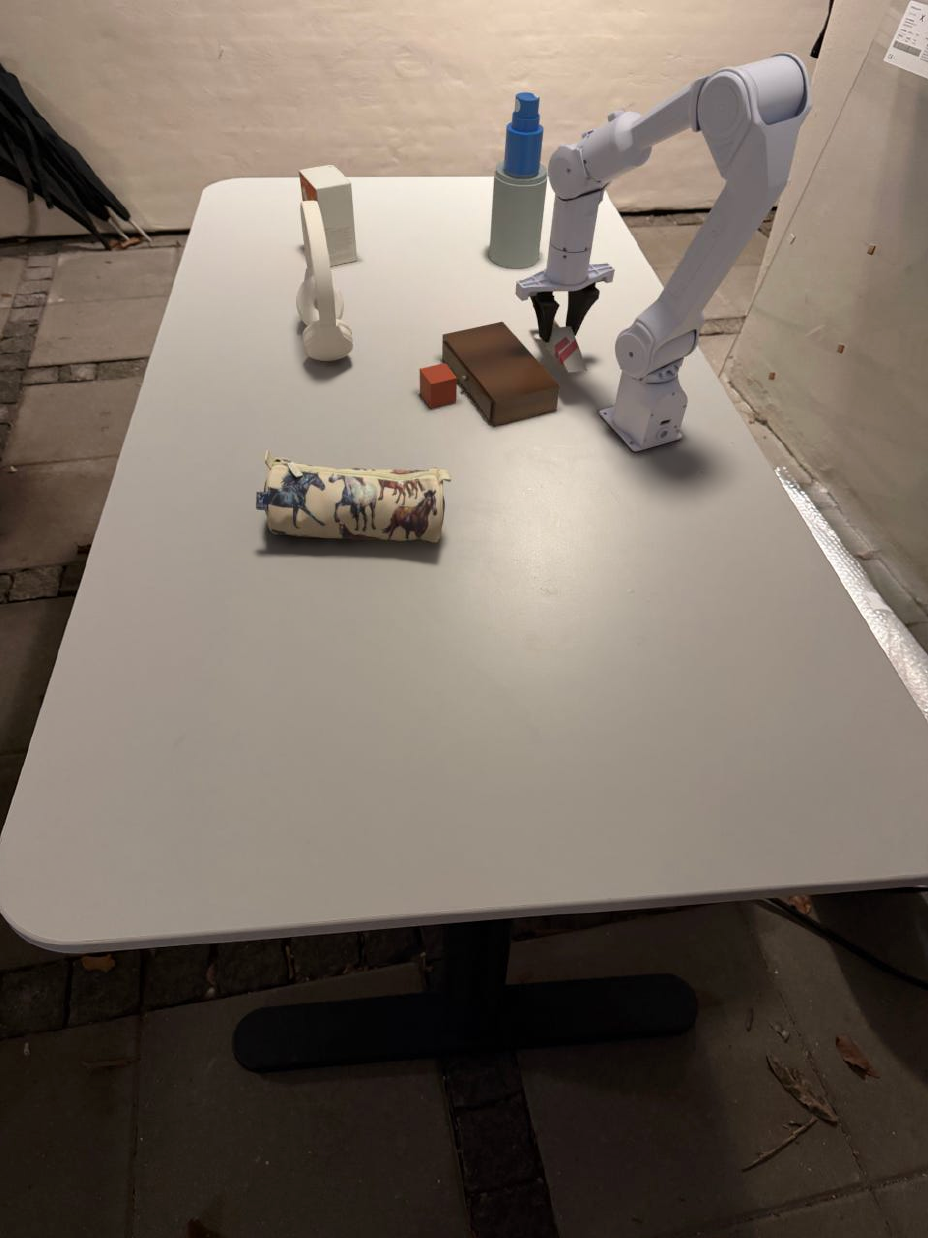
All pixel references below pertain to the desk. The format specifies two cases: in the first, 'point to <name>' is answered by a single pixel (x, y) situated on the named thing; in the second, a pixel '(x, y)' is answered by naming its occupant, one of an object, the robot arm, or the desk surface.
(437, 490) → the pencil case
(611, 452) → the desk surface
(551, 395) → the cabinet
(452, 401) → the block
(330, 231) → the small box
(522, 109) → the spray bottle
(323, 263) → the headphones
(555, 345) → the paintbrush
